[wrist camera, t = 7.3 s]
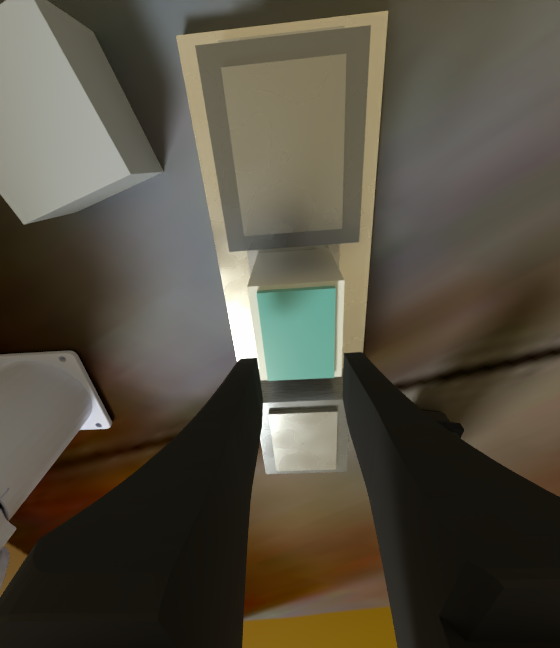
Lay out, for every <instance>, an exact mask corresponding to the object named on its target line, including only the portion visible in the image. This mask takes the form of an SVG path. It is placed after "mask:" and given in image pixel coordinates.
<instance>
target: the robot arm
mask: <svg viewBox="0 0 560 648" xmlns="http://www.w3.org/2000/svg"><path fill="white" fill-rule="evenodd" d="M342 397H343V403H344V409H345V414H346V420H347V424H348V428H349V431H350V434H351V438H352V441H353V444H354V448H355V451H356V454H357V458H358V461H359V464H360V468H361V471H362V474H363V477H364V481H365V484H366V488H367V492H368V496H369V500H370V505H371V509H372V514H373V519H374V524H375V529H376V534H377V539H378V544H379V549H380V554H381V559H382V564H383V569H384V575H385V580H386V586H387V591H388V596H389V602H390V607H391V612H392V618H393V624H394V630H395V635H396V641H397V647H398V648H560V497H559V496H557V495H555V494H553V493H551V492H549V491H547V490H545V489H543V488H542V487H540V486H538V485H536V484H534V483H533V482H531V481H529V480H527V479H525V478H524V477H522V476H520V475H518V474H516V473H515V472H513V471H511V470H510V469H508V468H506V467H504V466H503V465H501V464H499V463H498V462H496V461H494V460H493V459H491V458H490V457H488V456H486V455H485V454H483V453H482V452H480V451H479V450H477V449H475V448H474V447H472V446H471V445H469V444H468V443H466V442H465V441H463V440H462V439H460V438H459V437H457V436H456V435H454V434H453V433H452V432H450V431H449V430H447V429H446V428H445V427H443V426H442V425H441V424H439V423H438V422H437V421H435V420H434V419H432V418H431V417H430V416H429V415H427V414H426V413H425V412H424V411H422V410H421V409H420V408H419V407H418V406H416V405H415V404H414V403H413V402H412V401H411V400H410V399H408V398H407V397H406V396H405V395H404V394H403V393H402V392H401V391H400V390H399V389H398V388H396V387H395V386H394V385H393V384H392V383H391V382H390V381H389V380H388V379H387V378H386V377H385V376H384V375H383V374H382V373H381V372H380V371H379V370H378V369H377V368H376V367H375V366H374V365H373V363H372V362H371V361H370V360H369V359H368V358H367V357H366V356H365V355H364V354H363V353H362V352H352V353H344V364H343V393H342ZM262 416H263V395H262V389H261V382H260V375H259V368H258V361H257V358H240V359H239V360H238V362H237V363H236V364H235V366H234V367H233V369H232V370H231V372H230V373H229V374H228V376H227V377H226V379H225V380H224V381H223V383H222V384H221V385H220V387H219V388H218V389H217V391H216V392H215V393H214V394H213V396H212V397H211V398H210V399H209V401H208V402H207V403H206V404H205V405H204V407H203V408H202V409H201V410H200V411H199V412H198V413H197V415H196V416H195V417H194V418H193V419H192V420H191V421H190V422H189V423H188V425H187V426H186V427H185V428H184V429H183V430H182V431H181V432H180V433H179V434H178V435H177V436H176V437H175V438H174V439H173V440H172V441H171V442H169V443H168V444H167V445H166V446H165V447H164V448H163V449H162V450H161V451H159V452H158V453H157V454H156V455H155V456H154V457H152V458H151V459H150V460H149V461H148V462H147V463H145V464H144V465H143V466H142V467H141V468H140V469H138V470H137V471H136V472H135V473H133V474H132V475H131V476H130V477H128V478H127V479H126V480H124V481H123V482H122V483H121V484H119V485H118V486H116V487H115V488H114V489H112V490H111V491H110V492H108V493H107V494H106V495H104V496H103V497H102V498H100V499H99V500H97V501H96V502H94V503H93V504H92V505H90V506H89V507H87V508H86V509H84V510H83V511H81V512H80V513H78V514H77V515H75V516H74V517H72V518H71V519H69V520H68V521H66V522H65V523H63V524H62V525H60V526H59V527H57V528H56V529H54V530H53V531H51V532H50V533H48V534H46V535H45V536H43V537H42V538H40V539H39V540H38V542H37V543H36V544H35V546H34V547H33V549H32V550H31V552H30V553H29V555H28V556H27V558H26V559H25V561H24V562H23V563H22V565H21V567H20V568H19V570H18V571H17V573H16V574H15V576H14V577H13V579H12V580H11V582H10V583H9V585H8V586H7V588H6V590H5V591H4V592H3V594H2V596H1V597H0V648H242V635H243V613H244V594H245V575H246V558H247V542H248V527H249V513H250V500H251V492H252V485H253V479H254V473H255V466H256V460H257V454H258V448H259V442H260V436H261V429H262ZM111 425H112V421H111V419H110V417H109V415H108V413H107V411H106V409H105V407H104V405H103V403H102V401H101V399H100V397H99V395H98V393H97V391H96V390H95V388H94V386H93V384H92V382H91V380H90V378H89V376H88V374H87V372H86V370H85V368H84V366H83V364H82V362H81V360H80V358H79V356H78V355H77V353H75V352H73V351H52V352H35V353H17V354H0V589H1V586H2V584H3V581H4V578H5V574H6V570H7V567H8V563H9V551H8V549H7V548H6V547H4V545H5V544H6V542H7V541H8V540H9V538H10V537H11V536H12V534H13V533H14V531H15V530H16V527H15V526H13V525H12V524H10V523H9V522H8V521H9V520H10V519H11V518H12V516H13V515H14V514H15V512H16V511H17V510H18V509H19V507H20V506H21V505H22V503H23V502H24V501H25V500H26V498H27V497H28V496H29V494H30V493H31V492H32V490H33V489H34V488H35V487H36V485H37V484H38V483H39V481H40V480H41V479H42V478H43V476H44V475H45V474H46V472H47V471H48V470H49V469H50V467H51V466H52V465H53V463H54V462H55V461H56V460H57V458H58V457H59V456H60V454H61V453H62V452H63V451H64V449H65V448H66V447H67V445H68V444H69V443H70V442H71V440H72V439H73V438H74V436H75V435H76V434H77V433H78V431H79V430H87V429H107V428H110V427H111Z"/></svg>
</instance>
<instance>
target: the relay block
mask: <svg viewBox="0 0 560 648" xmlns="http://www.w3.org/2000/svg"><path fill="white" fill-rule="evenodd" d="M163 172H164V171H163V169H162V167H161V165H160V163H159V161H158V159H157V157H156V155H155V153H154V151H153V149H152V147H151V145H150V143H149V141H148V139H147V137H146V135H145V134H144V132H143V130H142V128H141V126H140V124H139V122H138V120H137V118H136V116H135V114H134V112H133V110H132V108H131V106H130V104H129V102H128V100H127V98H126V96H125V94H124V92H123V90H122V88H121V86H120V84H119V82H118V80H117V78H116V76H115V74H114V72H113V70H112V68H111V66H110V64H109V62H108V60H107V58H106V56H105V54H104V52H103V50H102V48H101V46H100V44H99V42H98V40H97V38H96V36H95V34H94V32H93V31H92V30H90V29H89V28H87V27H86V26H84V25H83V24H81V23H80V22H78V21H77V20H75V19H74V18H72V17H71V16H69V15H68V14H67V13H65V12H64V11H62V10H61V9H59V8H58V7H56V6H55V5H53V4H52V3H50V2H49V1H47V0H6V1H4V2H3V3H1V4H0V194H1V196H2V197H3V198H4V200H5V201H6V202H7V203H8V205H9V206H10V207H11V209H12V210H13V211H14V213H15V214H16V215H17V216H18V218H19V219H20V220H21V222H22V223H23V224H24V225H25V224H29V223H33V222H38V221H42V220H46V219H50V218H55V217H59V216H63V215H67V214H72V213H76V212H78V211H80V210H82V209H85V208H87V207H89V206H91V205H93V204H95V203H98V202H100V201H102V200H104V199H106V198H108V197H111V196H113V195H115V194H117V193H119V192H121V191H124V190H126V189H128V188H130V187H132V186H134V185H137V184H139V183H141V182H143V181H145V180H147V179H150V178H152V177H154V176H156V175H158V174H160V173H163Z"/></svg>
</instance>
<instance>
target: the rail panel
mask: <svg viewBox="0 0 560 648" xmlns="http://www.w3.org/2000/svg"><path fill="white" fill-rule="evenodd" d="M387 22H388V11H381V12H372V13H364V14H355V15H347V16H338V17H330V18H321V19H313V20H305V21H296V22H288V23H279V24H271V25H262V26H254V27H245V28H237V29H228V30H220V31H212V32H203V33H195V34H186V35H178V36H176V38H177V44H178V49H179V54H180V60H181V65H182V70H183V76H184V81H185V86H186V92H187V97H188V102H189V108H190V113H191V118H192V124H193V129H194V134H195V140H196V145H197V150H198V156H199V161H200V166H201V172H202V177H203V182H204V188H205V193H206V198H207V204H208V209H209V214H210V220H211V225H212V230H213V236H214V241H215V246H216V252H217V257H218V262H219V268H220V273H221V278H222V284H223V289H224V294H225V300H226V305H227V310H228V316H229V321H230V326H231V332H232V337H233V342H234V348H235V353H236V358H237V362H238V360H239V359H240V358H257V353H256V346H255V339H254V332H253V325H252V318H251V311H250V304H249V297H248V290H247V285H248V282H249V279H250V276H251V273H252V270H253V266H254V263H255V260H256V257H257V254H258V253H272V252H286V251H299V250H313V249H327V248H329V250H330V252H331V254H332V256H333V258H334V260H335V262H336V264H337V266H338V268H339V270H340V272H341V274H342V276H343V278H344V280H345V284H344V315H343V347H342V377H334V378H319V379H298V380H278V381H268V380H260V382H261V389H262V395H263V416H262V429H261V436H260V440H261V446H262V452H263V458H264V464H265V470H266V474H284V473H317V472H347V459H348V441H349V428H348V424H347V420H346V414H345V409H344V403H343V397H342V393H343V364H344V353H352V352H362V353H363V346H364V333H365V319H366V306H367V292H368V279H369V265H370V252H371V238H372V225H373V211H374V198H375V184H376V171H377V157H378V144H379V130H380V117H381V103H382V90H383V76H384V63H385V49H386V36H387ZM257 361H258V360H257ZM258 368H259V367H258ZM259 375H260V373H259Z"/></svg>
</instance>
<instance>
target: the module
mask: <svg viewBox="0 0 560 648" xmlns="http://www.w3.org/2000/svg"><path fill="white" fill-rule="evenodd" d="M344 284H345V280H344V278H343V276H342V274H341V272H340V270H339V268H338V266H337V264H336V262H335V260H334V258H333V256H332V254H331V252H330V250H329V248H327V249H313V250H299V251H286V252H272V253H258V254H257V257H256V260H255V263H254V266H253V270H252V273H251V276H250V279H249V282H248V285H247V290H248V297H249V304H250V311H251V318H252V325H253V332H254V339H255V346H256V353H257V360H258V367H259V373H260V380H268V381H278V380H298V379H319V378H334V377H342V347H343V315H344Z"/></svg>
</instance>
